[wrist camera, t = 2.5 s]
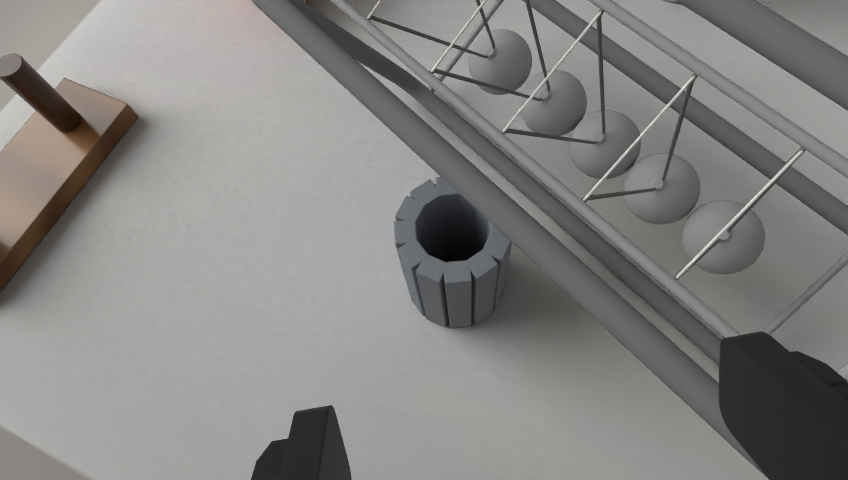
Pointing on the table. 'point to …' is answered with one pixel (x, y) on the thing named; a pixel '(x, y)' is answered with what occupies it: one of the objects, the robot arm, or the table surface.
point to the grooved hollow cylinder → (445, 235)
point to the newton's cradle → (603, 158)
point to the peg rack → (50, 155)
